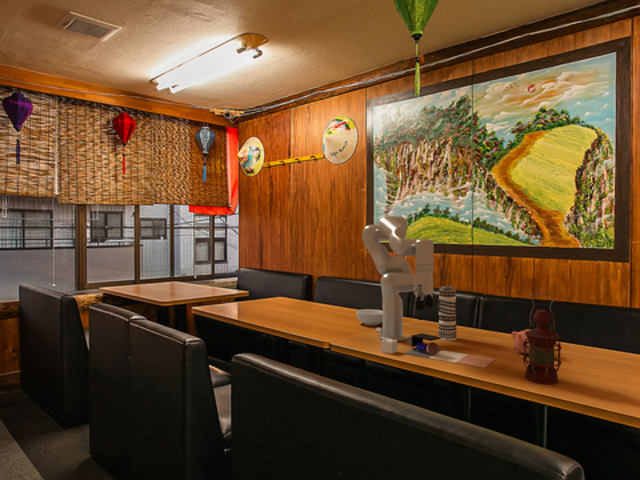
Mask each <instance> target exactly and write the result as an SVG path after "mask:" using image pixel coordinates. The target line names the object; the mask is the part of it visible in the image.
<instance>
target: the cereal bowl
mask: <svg viewBox="0 0 640 480" xmlns="http://www.w3.org/2000/svg"><path fill="white" fill-rule="evenodd" d="M356 317H357V320H358V321H359V322H361V323H362V324H363V325H365V326H371V327H373V326H374V327H375V326H379V324H383V310H380V309H369V308H367V309H364V308H363V309H359V310H356Z"/></svg>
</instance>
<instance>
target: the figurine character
mask: <svg viewBox="0 0 640 480" xmlns="http://www.w3.org/2000/svg"><path fill="white" fill-rule="evenodd" d="M405 340H406V343H407V345H409V346H411V347H412V348H411V349H415V350H417V349H418V350H424V351H427V352H428V353H429V354H432V355H434V354H437V353H438V351H439V350H440V347H439V345H438V344H437V343H436V342H433V341H436V340H441V337H439V336H438V335H432V334H427V333H418V334H412V335H409V336H408V337H407V336H406V339H405ZM424 340H425V341H428V342H429V343H426V342H425V343H424Z"/></svg>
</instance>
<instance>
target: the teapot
mask: <svg viewBox="0 0 640 480" xmlns="http://www.w3.org/2000/svg"><path fill="white" fill-rule="evenodd" d="M530 330H531V329H530V328H529V329H527V328H526V329H525V330H520V331H512V332H511V337H512V338H513V341H514V342H513V348H514V351H515V352H517V354H518V355H523V354H524V347H523V343H524V341H525V339H526V338H527V336H526V335H525V332H526V331H530ZM527 342H528V340H527ZM526 346H530V343H527V345H526ZM526 354H527V355H529V348H526Z"/></svg>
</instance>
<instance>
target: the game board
mask: <svg viewBox="0 0 640 480" xmlns="http://www.w3.org/2000/svg"><path fill="white" fill-rule="evenodd" d="M403 354H405V355H411V356H415V357H421V358H426V359H432V360H437V361H443V362H448V363H453V364H454V363H455V364H457V365H458V364H459V365H464V366H469V367H476V368H479V369H480V368H481V369H486V368H487V367H488V366H489V365H491V364H492V363H494V362H495V361H496V358H491V357H485V356H479V355H473V354H469V353H460V352H455V351H450V350H442V349H439V351H438V353H437V354H434V355H432V354H429V353H428V352H427V351H424V350H418V349H417V350H415V349H412V348H411V349H410V350H408V351H405V352H404V353H403Z"/></svg>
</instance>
